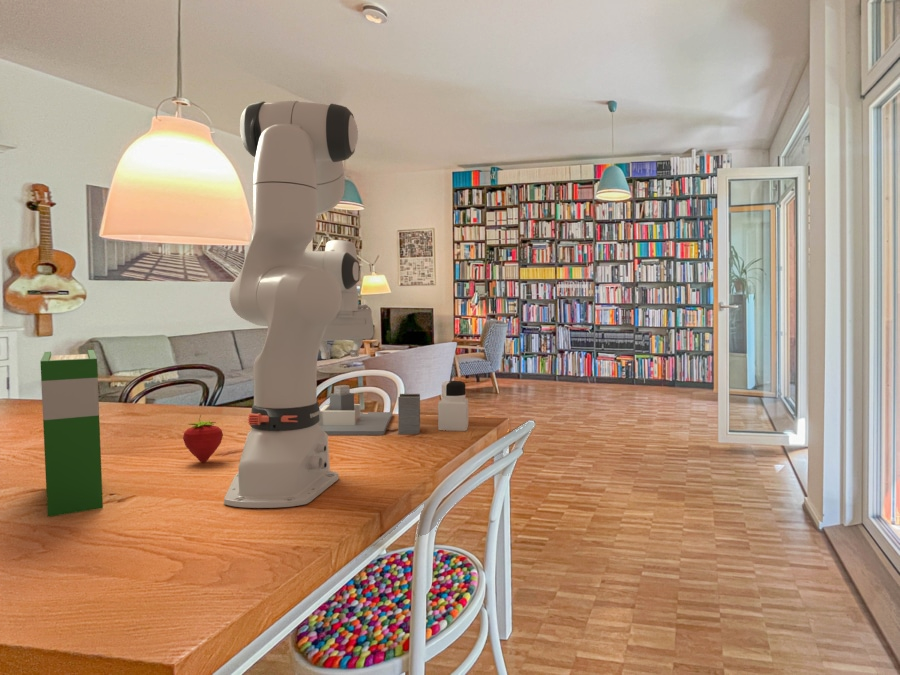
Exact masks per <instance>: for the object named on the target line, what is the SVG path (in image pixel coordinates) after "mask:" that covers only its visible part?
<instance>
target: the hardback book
mask: <svg viewBox="0 0 900 675" xmlns="http://www.w3.org/2000/svg"><path fill="white" fill-rule="evenodd" d="M39 363H40V384H41V400H42V401H41V402H42V424H43V445H44V447H43V448H44V449H43V450H44V465H45V466H44V468H45V488H46V492H45V493H46V509H47V511H46V514H47V517H57V516H62V515H69V514H74V513H80V512H82V513H83V512H86V511H88V512H89V511H93V510H94V511H95V510H99V509H103V508H104V505H103V504H104V501H103V478H102V477H103V476H102V474H103V473H102V456H101V455H102V454H101V452H102V450H101V429H100V428H101V427H100V426H101V424H100V405H99V404H100V403H99V378H98V357H97V355H96V353H95V350H94V349H88V350H87V353H83V354H82V353H81V354H59V355H57V354H55V355H52V351H44V353H43V354H42V357H41V359H40V362H39Z"/></svg>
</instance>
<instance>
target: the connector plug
mask: <svg viewBox="0 0 900 675" xmlns="http://www.w3.org/2000/svg"><path fill="white" fill-rule="evenodd" d="M350 391H351V390H350V385H348V384H347V385H346V384H341V385H339V384H338V385H334V386H333V393H329V404H330V411H354V404H355V393H353V392H350Z"/></svg>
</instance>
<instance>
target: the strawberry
mask: <svg viewBox="0 0 900 675" xmlns="http://www.w3.org/2000/svg"><path fill="white" fill-rule="evenodd" d="M201 417H202V414H200V415H199V419H198V421H199V422H194V423H193V422H192V423H191V422H190V423H188V424H187V425H190V426H192V427H189V428H187V429H186V430H185V431H184V432H183V436H182V439H183V442H184V445H185V447H186V449H187V450H188V451H189V452H190V454H192V455H193V456H194V457H195V458H196V459H197V460H198V461H199V462H200V463H205V462H207V461H209V459H210V458H211V456H212V455H213V454H214V453H215V452H216V450H217V449H218V448H219V447H220V445H221V443H222V440H223V438H224V433H223V429H221V428H220V427H219V426H217V425H216V426H215V424H216V423H217V422H216V421H203V420H201Z"/></svg>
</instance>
